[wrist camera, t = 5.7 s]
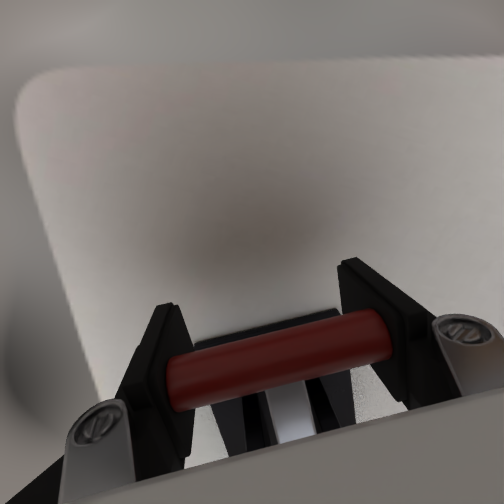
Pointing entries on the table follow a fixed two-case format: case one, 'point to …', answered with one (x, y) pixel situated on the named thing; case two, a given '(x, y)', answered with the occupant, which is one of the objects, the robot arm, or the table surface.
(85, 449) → the robot arm
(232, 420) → the bracket
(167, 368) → the lever
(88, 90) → the table surface
